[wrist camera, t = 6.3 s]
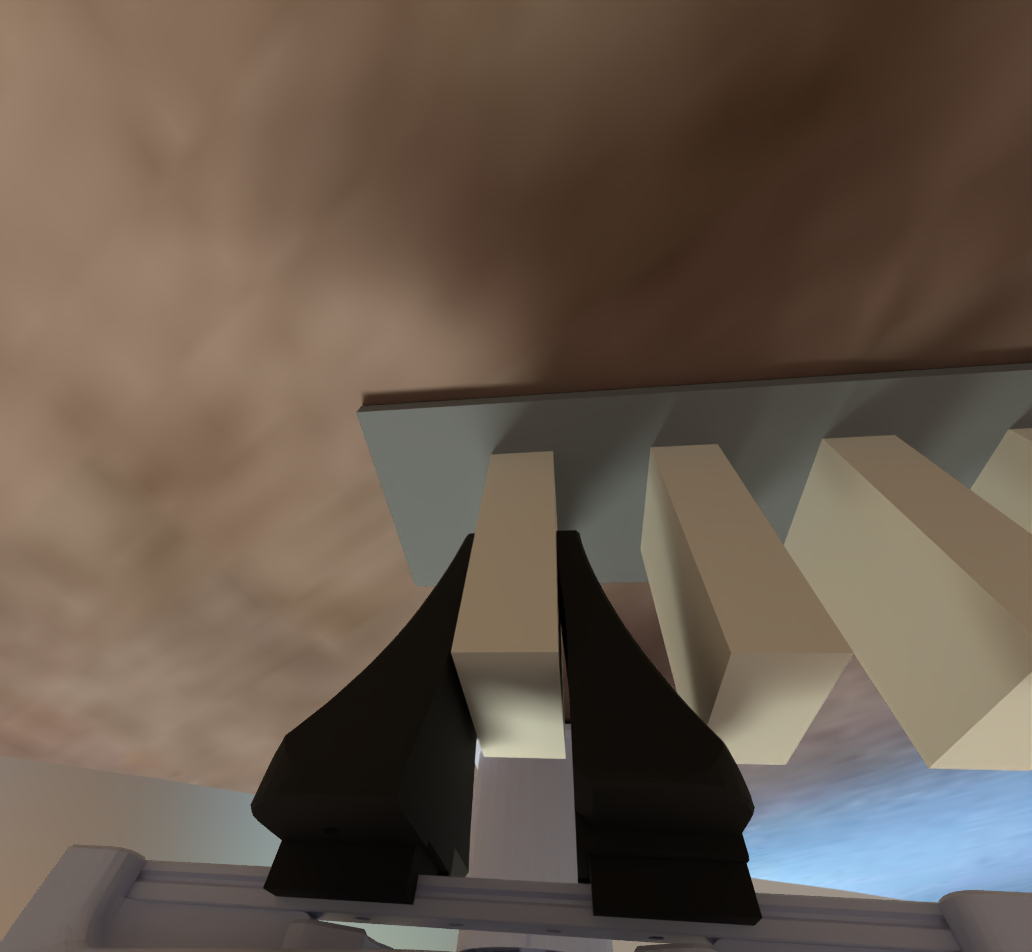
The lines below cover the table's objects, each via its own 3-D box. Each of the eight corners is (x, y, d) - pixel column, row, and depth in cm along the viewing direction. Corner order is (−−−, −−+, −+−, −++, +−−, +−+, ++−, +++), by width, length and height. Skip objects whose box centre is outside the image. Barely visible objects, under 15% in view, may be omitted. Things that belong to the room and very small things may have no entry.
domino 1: (558, 550, 16) (565, 758, 10) (506, 552, 16) (483, 757, 10) (553, 451, 13) (558, 651, 8) (491, 454, 14) (450, 651, 8)
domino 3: (843, 544, 15) (1029, 770, 9) (783, 545, 15) (928, 768, 9) (894, 434, 12) (1193, 652, 7) (822, 438, 13) (1052, 652, 7)
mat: (1246, 561, 15) (1263, 570, 14) (418, 577, 18) (415, 586, 18) (1534, 330, 10) (1571, 336, 10) (361, 406, 13) (356, 412, 13)
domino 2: (696, 548, 15) (785, 764, 10) (640, 549, 16) (694, 762, 10) (717, 443, 13) (854, 653, 7) (650, 447, 13) (731, 653, 7)
